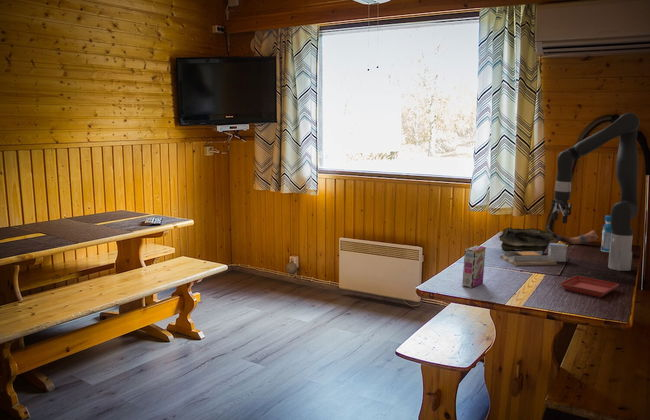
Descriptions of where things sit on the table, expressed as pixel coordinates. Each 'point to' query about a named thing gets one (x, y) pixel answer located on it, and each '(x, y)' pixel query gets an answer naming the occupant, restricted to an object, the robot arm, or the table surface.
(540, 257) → the rail
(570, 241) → the drinking horn
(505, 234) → the hollow geode rock
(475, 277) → the candy bar box
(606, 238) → the beverage bottle
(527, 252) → the orange rectangular slab
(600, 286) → the plant saucer
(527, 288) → the table surface
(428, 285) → the table surface
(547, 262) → the rail board
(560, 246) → the medicine box
